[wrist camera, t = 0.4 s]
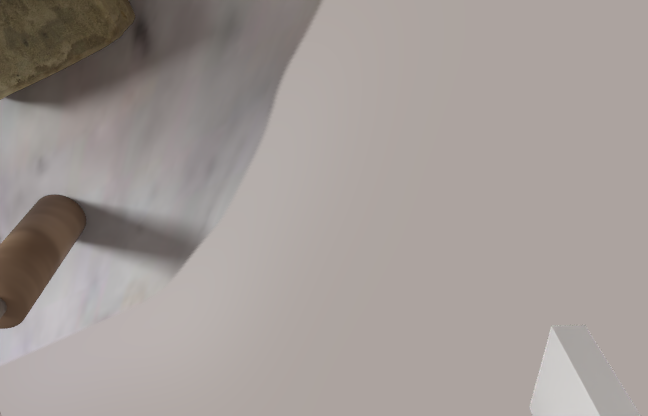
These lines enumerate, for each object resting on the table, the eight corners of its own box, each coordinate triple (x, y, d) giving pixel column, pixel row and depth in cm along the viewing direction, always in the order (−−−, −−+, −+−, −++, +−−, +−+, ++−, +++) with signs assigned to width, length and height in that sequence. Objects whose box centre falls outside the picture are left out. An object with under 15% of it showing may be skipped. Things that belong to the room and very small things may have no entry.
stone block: (151, 17, 31) (124, 39, 27) (-7, 101, 33) (-55, 134, 29) (86, -89, 28) (44, -83, 24) (-81, 11, 31) (-146, 33, 26)
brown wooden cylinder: (33, 231, 38) (-48, 331, 29) (34, 189, 36) (-51, 283, 28) (84, 242, 38) (18, 344, 30) (88, 201, 37) (19, 297, 28)
